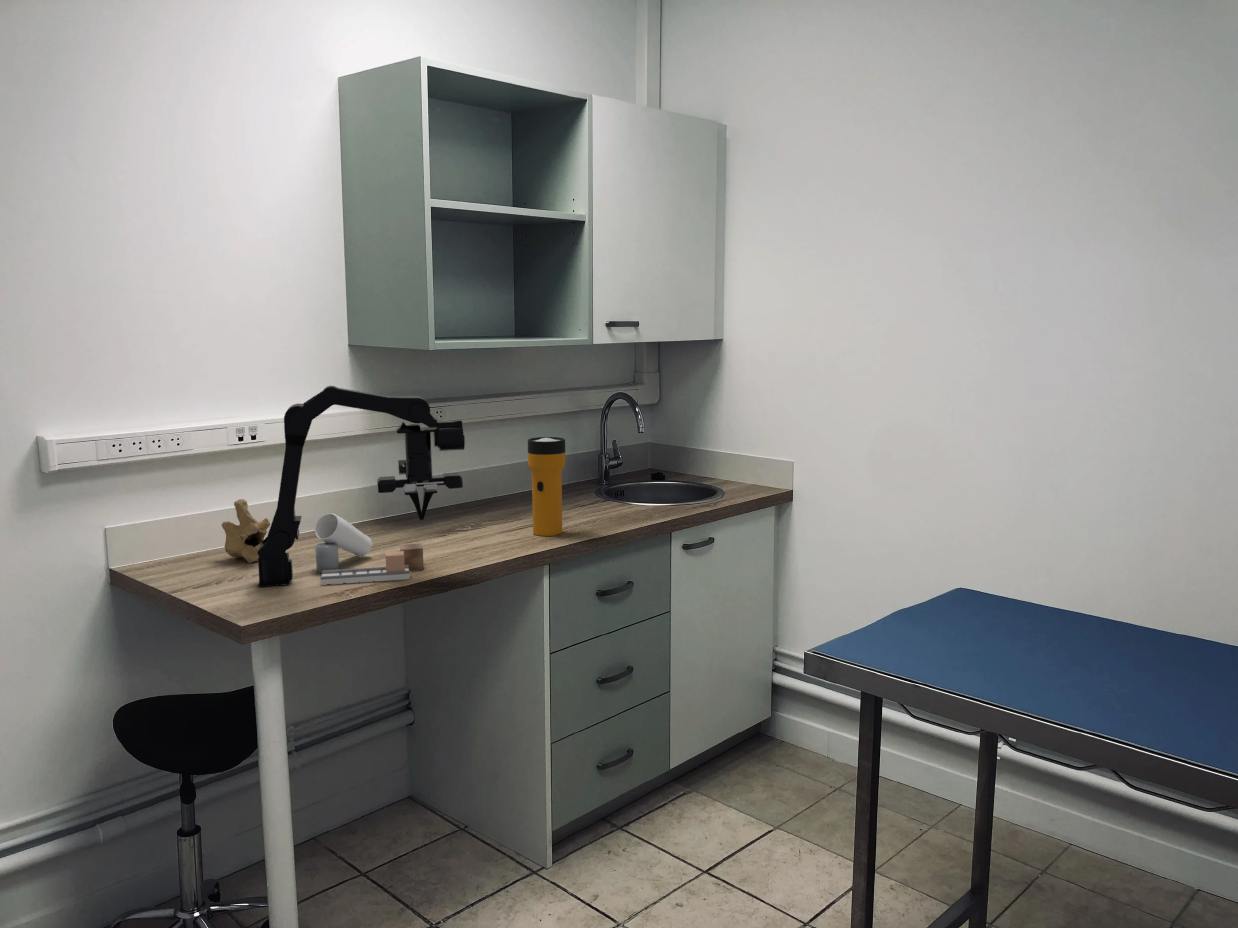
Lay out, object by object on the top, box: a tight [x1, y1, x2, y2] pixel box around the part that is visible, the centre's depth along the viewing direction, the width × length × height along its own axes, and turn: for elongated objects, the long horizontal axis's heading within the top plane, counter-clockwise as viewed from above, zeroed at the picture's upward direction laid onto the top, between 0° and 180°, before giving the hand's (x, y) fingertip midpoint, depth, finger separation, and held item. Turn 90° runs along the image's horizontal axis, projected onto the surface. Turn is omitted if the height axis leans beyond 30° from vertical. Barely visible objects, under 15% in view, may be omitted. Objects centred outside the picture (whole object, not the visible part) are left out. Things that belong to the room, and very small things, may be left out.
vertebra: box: [221, 498, 271, 564], centre depth 234 cm, size 9×14×15 cm, turn 47°
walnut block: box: [399, 543, 425, 571], centre depth 228 cm, size 5×5×5 cm
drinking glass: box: [314, 512, 373, 557], centre depth 232 cm, size 7×7×15 cm
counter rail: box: [320, 565, 411, 586], centre depth 218 cm, size 19×6×2 cm, turn 104°
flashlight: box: [527, 436, 566, 537], centre depth 260 cm, size 10×26×10 cm
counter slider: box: [385, 550, 405, 572], centre depth 219 cm, size 4×4×4 cm
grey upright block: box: [315, 542, 340, 574], centre depth 225 cm, size 5×5×6 cm
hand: (421, 519), depth 222 cm, fingers closed
